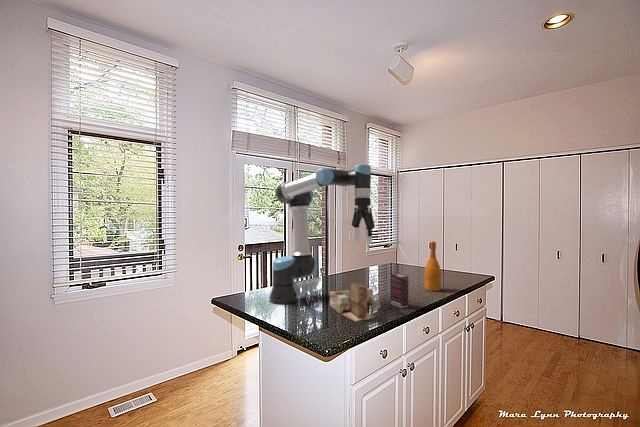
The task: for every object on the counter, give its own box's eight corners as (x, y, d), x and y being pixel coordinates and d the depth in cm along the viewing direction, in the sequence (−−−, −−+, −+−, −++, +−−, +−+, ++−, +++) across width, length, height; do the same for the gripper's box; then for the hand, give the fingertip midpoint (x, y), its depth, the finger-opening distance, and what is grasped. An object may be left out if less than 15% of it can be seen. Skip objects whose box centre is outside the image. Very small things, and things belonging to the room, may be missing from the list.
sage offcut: (341, 303, 169) (341, 297, 169) (337, 301, 174) (337, 295, 174) (348, 303, 170) (348, 297, 170) (344, 300, 175) (344, 294, 175)
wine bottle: (442, 289, 213) (443, 241, 212) (438, 292, 204) (439, 242, 204) (426, 287, 218) (427, 240, 217) (422, 290, 210) (422, 241, 209)
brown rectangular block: (357, 318, 155) (357, 287, 155) (350, 312, 163) (350, 283, 163) (366, 317, 157) (366, 287, 156) (359, 312, 164) (359, 283, 164)
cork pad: (355, 321, 152) (355, 320, 152) (342, 314, 162) (342, 313, 162) (375, 317, 158) (375, 316, 158) (361, 311, 167) (361, 310, 167)
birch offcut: (341, 311, 168) (341, 304, 168) (336, 307, 175) (336, 300, 175) (349, 310, 169) (349, 303, 169) (344, 306, 176) (344, 299, 176)
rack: (339, 313, 164) (340, 299, 164) (329, 305, 178) (329, 291, 177) (384, 308, 172) (384, 295, 171) (371, 301, 185) (371, 288, 185)
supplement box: (408, 307, 175) (409, 276, 175) (401, 308, 173) (401, 277, 172) (397, 302, 183) (397, 273, 182) (390, 304, 180) (390, 274, 180)
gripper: (382, 196, 151) (382, 244, 151) (358, 198, 174) (358, 239, 175) (367, 196, 148) (366, 245, 149) (345, 197, 172) (345, 239, 173)
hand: (362, 242), depth 162 cm, fingers open, 13 cm apart
